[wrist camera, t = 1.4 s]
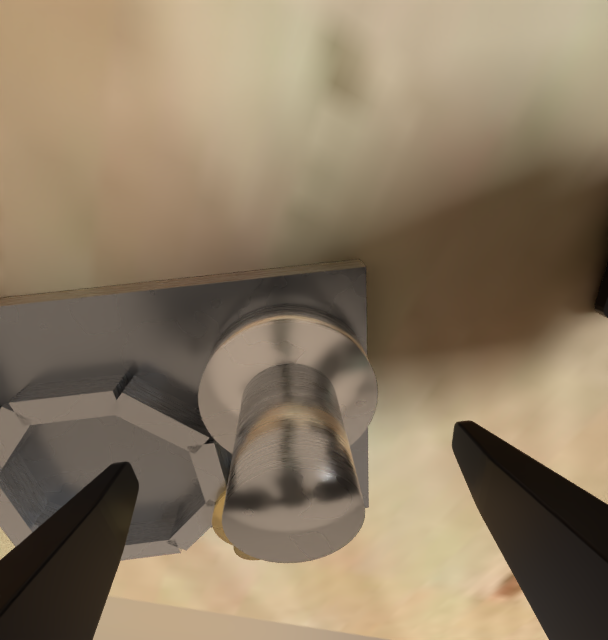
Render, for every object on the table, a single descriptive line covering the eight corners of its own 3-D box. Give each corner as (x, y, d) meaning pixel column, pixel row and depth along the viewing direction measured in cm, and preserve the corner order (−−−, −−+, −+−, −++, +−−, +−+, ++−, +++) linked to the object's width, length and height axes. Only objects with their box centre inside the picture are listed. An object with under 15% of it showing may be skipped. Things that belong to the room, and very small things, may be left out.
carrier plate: (359, 258, 12) (389, 292, 8) (363, 489, 17) (383, 564, 13) (-72, 305, 11) (-211, 359, 8) (67, 526, 16) (16, 612, 13)
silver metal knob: (366, 295, 11) (437, 397, 6) (367, 428, 14) (418, 578, 9) (190, 314, 11) (114, 435, 6) (224, 446, 13) (192, 608, 8)
